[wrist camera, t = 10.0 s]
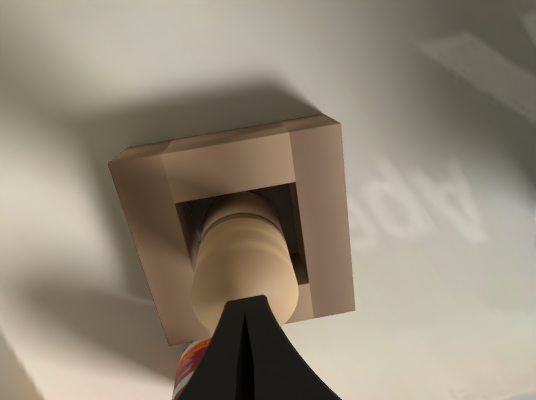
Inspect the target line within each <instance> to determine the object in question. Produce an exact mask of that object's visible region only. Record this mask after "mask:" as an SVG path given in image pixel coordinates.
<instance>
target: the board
mask: <svg viewBox="0 0 536 400" xmlns="http://www.w3.org/2000/svg"><path fill="white" fill-rule="evenodd" d="M108 166H109V169H110V172H111V175H112V178H113V181H114V184H115V187H116V190H117V193H118V196H119V199H120V202H121V205H122V207H123V210H124V213H125V216H126V219H127V222H128V225H129V228H130V231H131V234H132V237H133V240H134V243H135V246H136V249H137V252H138V255H139V258H140V261H141V264H142V267H143V270H144V273H145V276H146V279H147V282H148V285H149V288H150V291H151V294H152V297H153V300H154V303H155V305H156V308H157V311H158V314H159V317H160V320H161V323H162V326H163V329H164V332H165V335H166V338H167V341H168V344H169V346H170V345H176V344H181V343H186V342H192V341H197V340H202V339H208V338H212V336H213V332H212V331H210V330H208V329H207V328H206V327H205V326H204V325H203V324H202V323H201V322H200V321H199V320H198V318H197V317H196V315H195V313H194V311H193V308H192V305H191V287H192V282H193V277H194V272H195V266H196V261H197V254H198V248H199V241H198V237H197V233H196V229H195V225H194V221H193V218H192V214H191V210H190V206H189V202H188V201H191V200H196V199H202V198H207V197H213V196H219V195H224V194H230V193H236V192H241V191H247V190H252V189H258V188H264V187H269V186H275V185H281V184H286V183H289V186H290V193H291V200H292V207H293V215H294V222H295V229H296V236H297V243H298V250H299V254H294V255H289V256H290V259H291V263H292V266H293V269H294V273H295V276H296V280H297V283H298V290H299V296H298V302H297V305H296V308H295V310H294V312H293V314H292V315H291V317H290V318H289V319H288V320H287V322H286V323H284V324H287V323H292V322H298V321H303V320H308V319H313V318H319V317H324V316H329V315H335V314H340V313H345V312H350V311H355V301H354V288H353V275H352V262H351V249H350V236H349V223H348V210H347V197H346V184H345V171H344V158H343V145H342V132H341V123H339V122H337V121H336V120H334V119H332V118H330V117H328V116H327V115H325V114H322V115H316V116H310V117H305V118H299V119H293V120H287V121H282V122H276V123H270V124H264V125H258V126H253V127H247V128H241V129H235V130H229V131H224V132H218V133H212V134H206V135H200V136H195V137H189V138H183V139H177V140H171V141H166V142H160V143H154V144H148V145H142V146H137V147H131V148H127V149H126V150H125V151H123V152H122V153H121V154H120V155H118V156H117V157H116V158H115V159H113V160H112V161H111V162H110V163H108Z"/></svg>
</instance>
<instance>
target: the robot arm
mask: <svg viewBox="0 0 536 400" xmlns="http://www.w3.org/2000/svg"><path fill="white" fill-rule="evenodd" d="M176 400H342V399H341V398H340V397H338V396H337V395H336V394H335V393H334V392H333V391H332V390H331V389H330V388H329V387H328V386H327V385H326V384H325V383H324V382H323V381H322V380H321V379H320V378H319V377H318V376H317V375H316V374H315V372H314V371H313V370H312V369H311V368H310V367H309V366H308V364H307V363H306V362H305V361H304V360H303V358H302V357H301V356H300V355H299V353H298V352H297V351H296V349H295V348H294V347H293V345H292V344H291V342H290V341H289V339H288V338H287V336H286V335H285V333H284V332H283V330H282V329H281V327H280V325H279V324H278V322H277V320H276V318H275V316H274V314H273V312H272V310H271V308H270V306H269V303H268V299H267V296H265V295H258V296H252V297H247V298H242V299H236V300H231V301H227V302H226V304H225V305H224V309H223V311H222V314H221V317H220V319H219V322H218V324H217V327H216V329H215V331H214V333H213V336H212V338H211V340H210V342H209V344H208V346H207V348H206V350H205V352H204V354H203V356H202V358H201V360H200V361H199V363H198V365H197V367H196V369H195V371H194V372H193V374H192V376H191V377H190V379H189V381H188V382H187V384H186V386H185V387H184V389H183V390H182V392H181V393H180V395H179V396H178V398H177V399H176Z"/></svg>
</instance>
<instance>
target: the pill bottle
mask: <svg viewBox="0 0 536 400" xmlns="http://www.w3.org/2000/svg"><path fill="white" fill-rule="evenodd" d="M210 340H211V338H208V339H202V340H197V341H194V342H193V343H192V344H191V345H190V346H189V347H188V348H187V349H186V350H185V351H184V353H183V354H182V356H181V358H180V361H179V364H178V368H177V373H176V379H175V385H174V391H173V396H172V400H176V399H177V398H178V396H179V395H180V393H181V392H182V390H183V389H184V387H185V386H186V384H187V382H188V381H189V379H190V377H191V376H192V374H193V372H194V371H195V369H196V367H197V365H198V363H199V361H200V360H201V358H202V356H203V354H204V352H205V350H206V348H207V346H208V344H209V342H210Z"/></svg>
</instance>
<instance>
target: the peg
mask: <svg viewBox="0 0 536 400" xmlns="http://www.w3.org/2000/svg"><path fill="white" fill-rule="evenodd" d="M258 295H265V296H267V299H268V303H269V306H270V308H271V310H272V312H273V314H274V316H275V318H276V320H277V322H278V324H279V325H280V327H281V326H282V325H283V324H284V323H286V322H287V320H288V319H289V318H290V317H291V315H292V314H293V312H294V310H295V308H296V305H297V302H298V296H299V290H298V283H297V280H296V276H295V273H294V269H293V266H292V263H291V259H290V256H289V252H288V248H287V244H286V241H285V238H284V235H283V232H282V228H281V225H280V221H279V218H278V215H277V212H276V211H275V209H274V207H273V206H272V205H271V204H270V203H269V202H268V201H267V200H266V199H265V198H263V197H261V196H259V195H257V194H254V193H250V192H236V193H230V194H227V195H225V196H223V197H221V198H219V199H218V200H217V201H215V202H214V203H213V204H212V206H211V207H210V208H209V210H208V211H207V213H206V216H205V219H204V224H203V229H202V234H201V240H200V243H199V248H198V254H197V261H196V266H195V272H194V277H193V282H192V287H191V305H192V308H193V311H194V313H195V315H196V317H197V318H198V320H199V321H200V322H201V323H202V324H203V325H204V326H205V327H206V328H207V329H208V330H210V331H212V332H213V333H214V331H215V329H216V327H217V324H218V322H219V319H220V317H221V314H222V311H223V309H224V305H225V304H226V302H227V301H231V300H236V299H242V298H247V297H252V296H258Z"/></svg>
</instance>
